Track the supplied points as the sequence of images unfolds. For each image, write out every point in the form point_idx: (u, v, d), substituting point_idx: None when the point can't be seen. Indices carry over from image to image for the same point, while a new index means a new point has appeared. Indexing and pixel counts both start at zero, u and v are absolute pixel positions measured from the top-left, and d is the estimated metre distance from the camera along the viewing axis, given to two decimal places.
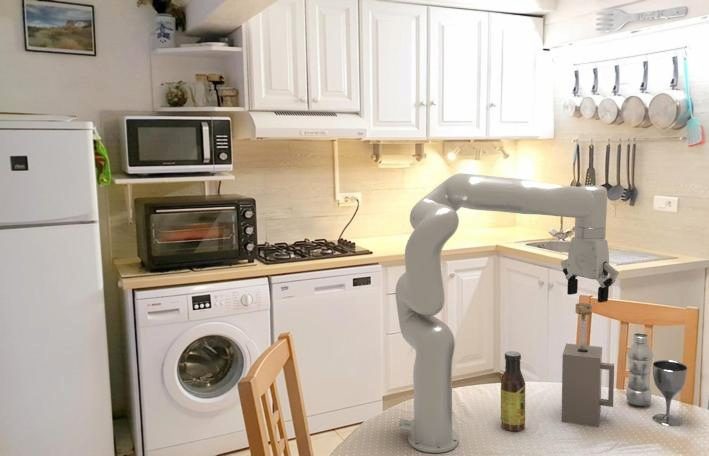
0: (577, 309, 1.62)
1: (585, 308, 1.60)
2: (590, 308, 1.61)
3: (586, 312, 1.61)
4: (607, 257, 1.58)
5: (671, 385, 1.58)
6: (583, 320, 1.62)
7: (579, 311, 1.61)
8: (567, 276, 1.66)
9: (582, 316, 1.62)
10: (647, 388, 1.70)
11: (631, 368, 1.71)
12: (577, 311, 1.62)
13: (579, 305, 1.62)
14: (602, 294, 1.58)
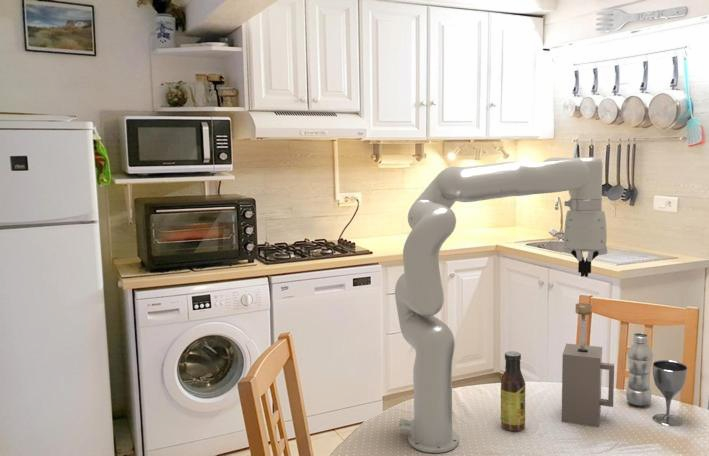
0: (577, 309, 1.62)
1: (585, 308, 1.60)
2: (590, 308, 1.61)
3: (586, 312, 1.61)
4: None
5: (671, 385, 1.58)
6: (583, 320, 1.62)
7: (579, 311, 1.61)
8: (578, 258, 1.60)
9: (582, 316, 1.62)
10: (647, 388, 1.70)
11: (631, 368, 1.71)
12: (577, 311, 1.62)
13: (579, 305, 1.62)
14: (588, 268, 1.60)
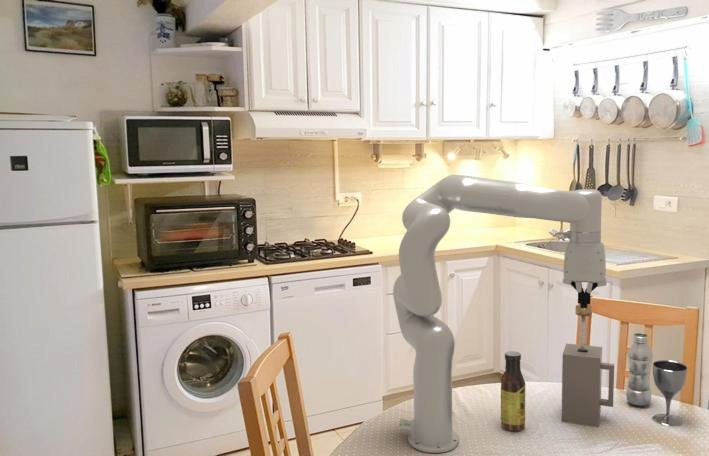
0: (577, 311, 1.62)
1: (585, 309, 1.60)
2: (590, 309, 1.61)
3: (586, 313, 1.61)
4: None
5: (671, 385, 1.58)
6: (583, 321, 1.62)
7: (579, 312, 1.61)
8: (578, 289, 1.61)
9: (582, 317, 1.62)
10: (647, 388, 1.70)
11: (631, 368, 1.71)
12: (577, 312, 1.62)
13: (579, 306, 1.62)
14: (588, 299, 1.61)
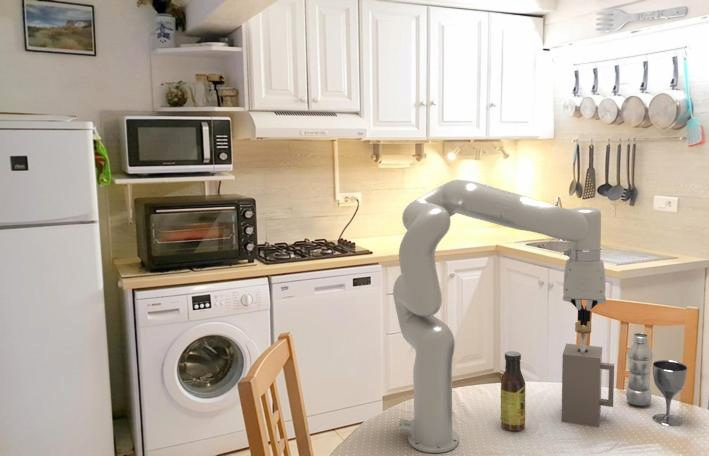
0: (577, 328, 1.62)
1: (585, 327, 1.61)
2: (590, 327, 1.62)
3: (586, 331, 1.61)
4: None
5: (671, 385, 1.58)
6: (583, 339, 1.63)
7: (579, 330, 1.62)
8: (578, 307, 1.62)
9: (582, 335, 1.63)
10: (647, 388, 1.70)
11: (631, 368, 1.71)
12: (577, 330, 1.63)
13: (579, 324, 1.63)
14: (587, 317, 1.62)
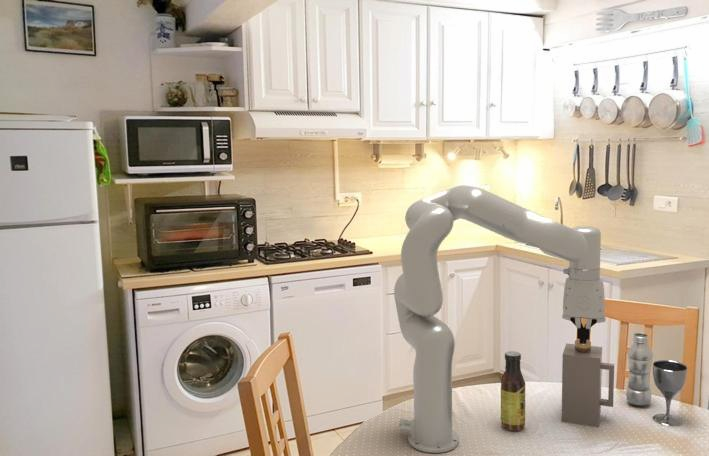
0: (576, 346, 1.63)
1: (584, 345, 1.62)
2: (589, 345, 1.62)
3: (585, 349, 1.62)
4: None
5: (671, 385, 1.58)
6: None
7: (578, 348, 1.63)
8: (577, 325, 1.63)
9: None
10: (647, 388, 1.70)
11: (631, 368, 1.71)
12: (576, 348, 1.63)
13: (578, 342, 1.64)
14: (587, 335, 1.62)
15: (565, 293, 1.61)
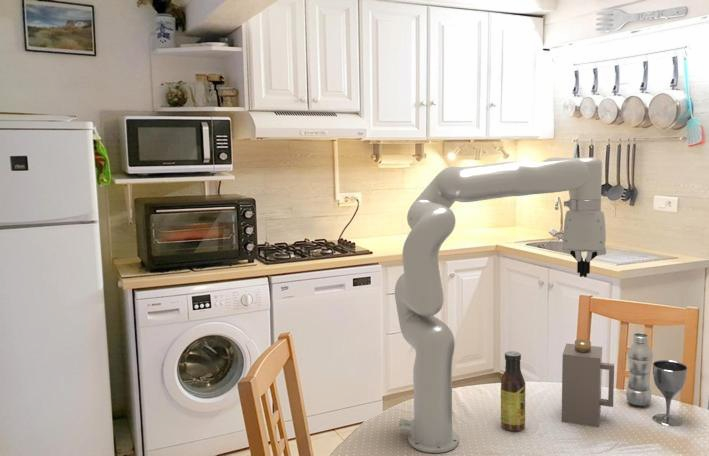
0: (576, 346, 1.63)
1: (584, 345, 1.62)
2: (589, 345, 1.62)
3: (585, 349, 1.62)
4: None
5: (671, 385, 1.58)
6: None
7: (578, 348, 1.63)
8: (577, 258, 1.60)
9: None
10: (647, 388, 1.70)
11: (631, 368, 1.71)
12: (576, 348, 1.63)
13: (578, 342, 1.64)
14: (587, 269, 1.60)
15: (565, 225, 1.59)
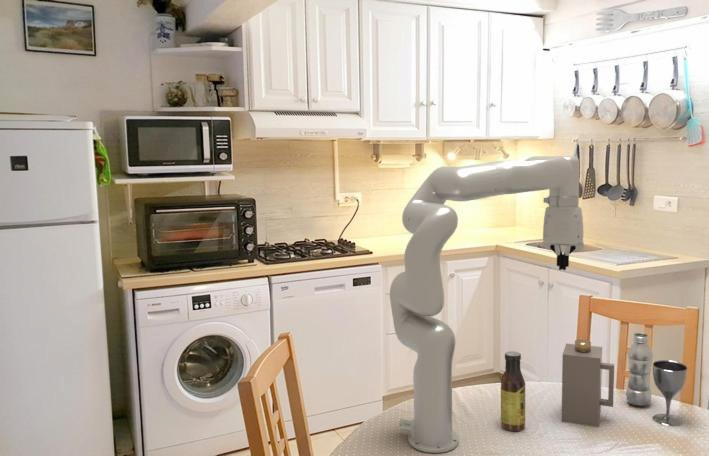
0: (576, 346, 1.63)
1: (584, 345, 1.62)
2: (589, 345, 1.62)
3: (585, 349, 1.62)
4: None
5: (671, 385, 1.58)
6: None
7: (578, 348, 1.63)
8: (557, 252, 1.68)
9: None
10: (647, 388, 1.70)
11: (631, 368, 1.71)
12: (576, 348, 1.63)
13: (578, 342, 1.64)
14: (566, 262, 1.68)
15: (545, 221, 1.67)
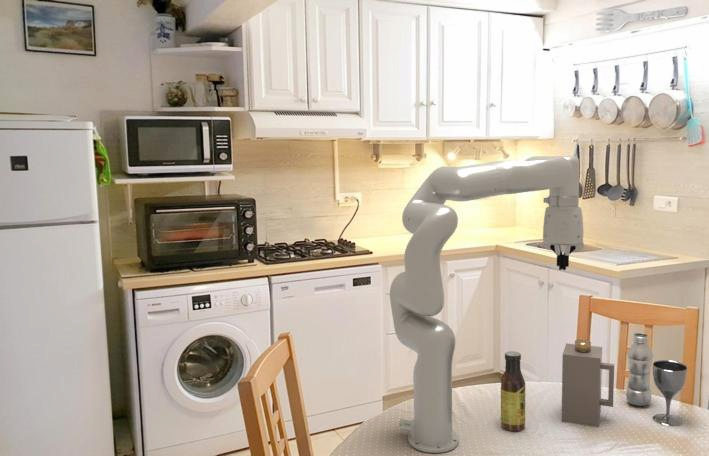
0: (576, 346, 1.63)
1: (584, 345, 1.62)
2: (589, 345, 1.62)
3: (585, 349, 1.62)
4: None
5: (671, 385, 1.58)
6: None
7: (578, 348, 1.63)
8: (557, 252, 1.68)
9: None
10: (647, 388, 1.70)
11: (631, 368, 1.71)
12: (576, 348, 1.63)
13: (578, 342, 1.64)
14: (566, 262, 1.68)
15: (545, 221, 1.67)
